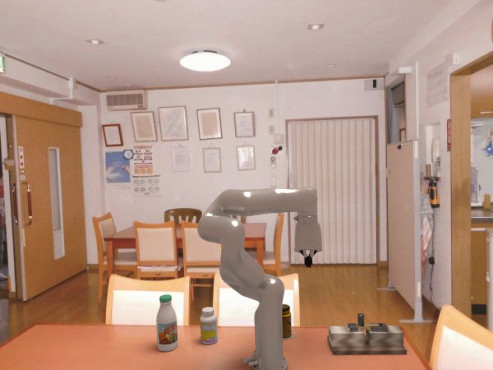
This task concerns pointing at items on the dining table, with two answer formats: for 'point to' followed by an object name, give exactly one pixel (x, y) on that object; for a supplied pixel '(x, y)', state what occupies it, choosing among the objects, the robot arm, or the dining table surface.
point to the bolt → (364, 326)
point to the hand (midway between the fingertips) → (308, 266)
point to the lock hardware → (382, 327)
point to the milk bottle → (166, 325)
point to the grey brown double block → (366, 341)
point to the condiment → (286, 322)
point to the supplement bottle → (208, 326)
